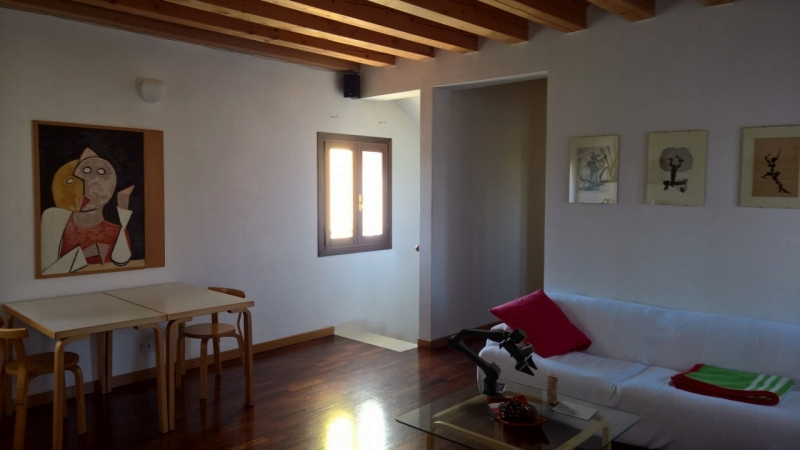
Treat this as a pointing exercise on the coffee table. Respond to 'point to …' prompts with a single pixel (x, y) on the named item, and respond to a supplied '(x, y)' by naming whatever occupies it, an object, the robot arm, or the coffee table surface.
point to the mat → (575, 410)
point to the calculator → (493, 410)
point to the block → (552, 388)
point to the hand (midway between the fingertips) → (535, 372)
